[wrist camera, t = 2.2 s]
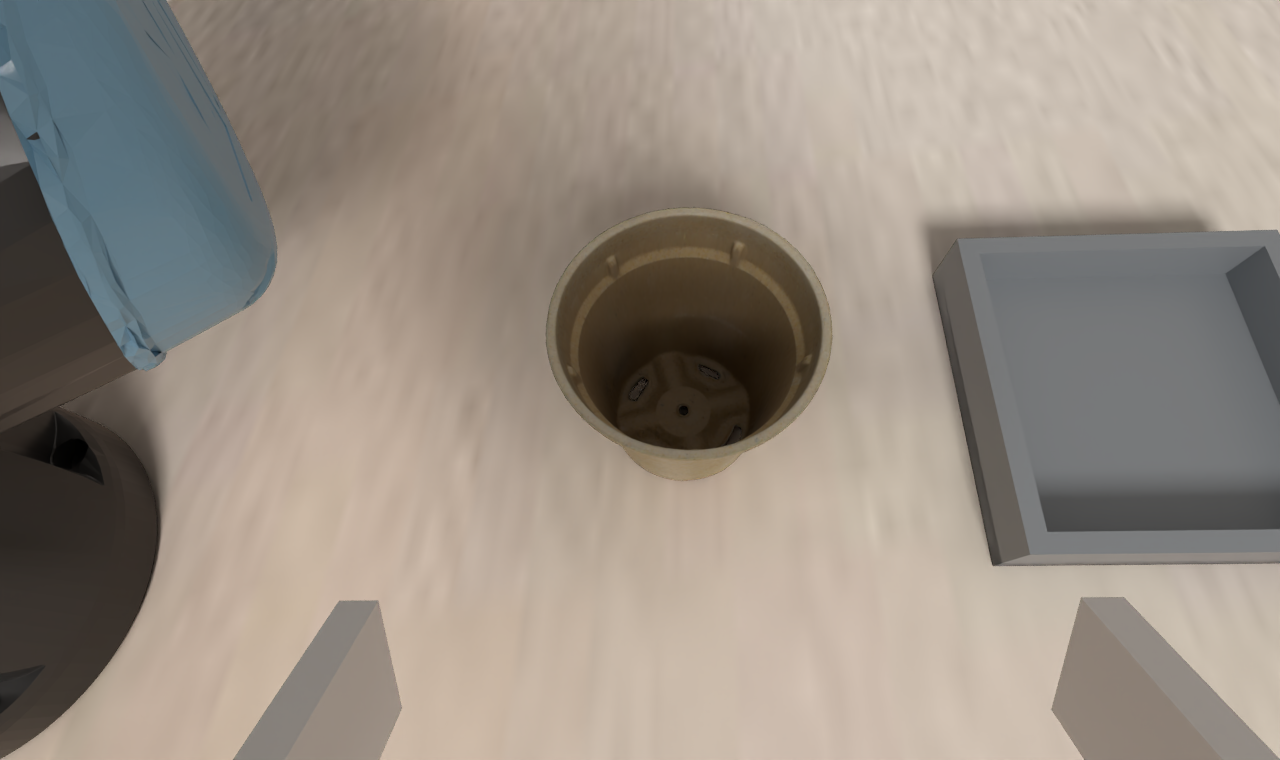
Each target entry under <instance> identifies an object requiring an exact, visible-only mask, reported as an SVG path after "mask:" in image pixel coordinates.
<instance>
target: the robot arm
mask: <svg viewBox="0 0 1280 760" xmlns="http://www.w3.org/2000/svg"><path fill="white" fill-rule="evenodd" d="M276 264H277V242H276V236H275V231H274V227H273V223H272V220H271V217H270V213H269V210H268V207H267V205H266V202H265V200H264V197H263V194H262V192H261V189H260V187H259V185H258V182H257V180H256V177H255V175H254V173H253V171H252V169H251V166H250V164H249V162H248V160H247V158H246V156H245V153H244V151H243V149H242V147H241V145H240V143H239V141H238V138H237V136H236V134H235V132H234V130H233V128H232V126H231V123H230V121H229V119H228V117H227V115H226V113H225V111H224V109H223V107H222V105H221V103H220V101H219V99H218V97H217V95H216V93H215V91H214V89H213V87H212V85H211V83H210V81H209V80H208V78H207V76H206V74H205V72H204V70H203V68H202V66H201V64H200V62H199V60H198V58H197V57H196V55H195V53H194V51H193V49H192V47H191V45H190V43H189V41H188V40H187V38H186V36H185V34H184V32H183V30H182V28H181V27H180V25H179V23H178V21H177V19H176V17H175V16H174V14H173V12H172V10H171V8H170V6H169V4H168V3H167V1H166V0H0V759H1V758H3V757H5V756H6V755H8V754H10V753H11V752H13V751H15V750H16V749H18V748H19V747H21V746H22V745H24V744H25V743H27V742H28V741H30V740H31V739H33V738H34V737H35V736H37V735H38V734H39V733H41V732H42V731H43V730H45V729H46V728H47V727H48V726H49V725H51V724H52V723H53V722H54V721H55V720H56V719H58V718H59V717H60V716H61V715H62V714H63V713H64V712H65V711H66V710H67V709H68V708H70V707H71V706H72V705H73V704H74V703H75V702H76V701H77V699H78V698H79V697H80V696H81V695H82V694H83V693H84V692H85V691H86V690H87V689H88V687H89V686H90V685H91V684H92V683H93V682H94V680H95V679H96V678H97V677H98V675H99V674H100V673H101V671H102V670H103V669H104V667H105V666H106V665H107V664H108V662H109V661H110V659H111V658H112V656H113V655H114V653H115V652H116V650H117V649H118V647H119V645H120V644H121V642H122V640H123V639H124V637H125V635H126V633H127V631H128V630H129V628H130V626H131V624H132V622H133V620H134V618H135V616H136V613H137V611H138V609H139V607H140V604H141V602H142V599H143V596H144V594H145V591H146V588H147V584H148V581H149V578H150V574H151V570H152V566H153V561H154V555H155V548H156V538H157V517H156V507H155V500H154V496H153V491H152V488H151V485H150V482H149V479H148V476H147V474H146V472H145V470H144V468H143V466H142V464H141V462H140V461H139V459H138V458H137V456H136V455H135V453H134V452H133V451H132V450H131V448H130V447H129V446H128V445H127V444H126V443H125V442H124V441H123V440H122V439H121V438H120V437H118V436H117V435H116V434H114V433H113V432H112V431H110V430H109V429H107V428H105V427H104V426H102V425H100V424H98V423H96V422H93V421H91V420H89V419H86V418H84V417H82V416H79V415H77V414H74V413H72V412H69V411H67V410H65V409H62V408H60V407H58V406H60V405H63V404H65V403H67V402H69V401H71V400H73V399H75V398H77V397H79V396H81V395H83V394H86V393H88V392H90V391H92V390H94V389H96V388H98V387H100V386H102V385H104V384H106V383H109V382H111V381H113V380H115V379H117V378H119V377H121V376H123V375H125V374H127V373H129V372H132V371H134V370H136V369H138V370H142V369H144V370H145V371H147V370H150V369H152V368H154V367H156V366H158V365H159V364H160V363H161V362H162V361H163V360H165V358H166V354H167V351H168V350H170V349H172V348H174V347H176V346H178V345H180V344H181V343H183V342H185V341H187V340H189V339H191V338H193V337H194V336H196V335H198V334H200V333H202V332H204V331H205V330H207V329H209V328H211V327H213V326H215V325H217V324H218V323H220V322H222V321H224V320H226V319H228V318H230V317H231V316H233V315H235V314H237V313H239V312H241V311H242V310H244V309H246V308H248V307H249V306H251V305H252V304H253V303H254V302H255V301H256V300H257V299H259V298H260V297H261V296H262V294H263V293H264V292H265V291H266V289H267V288H268V286H269V284H270V283H271V280H272V278H273V276H274V272H275V268H276ZM401 709H402V706H401V701H400V697H399V692H398V688H397V683H396V678H395V674H394V669H393V665H392V660H391V656H390V651H389V647H388V642H387V638H386V633H385V628H384V624H383V619H382V615H381V610H380V606H379V601H339V602H338V603H337V605H336V606H335V608H334V609H333V611H332V612H331V614H330V615H329V617H328V618H327V620H326V621H325V623H324V624H323V626H322V627H321V629H320V630H319V632H318V633H317V635H316V636H315V638H314V639H313V641H312V642H311V644H310V645H309V647H308V648H307V650H306V651H305V653H304V654H303V656H302V657H301V659H300V660H299V662H298V663H297V665H296V666H295V668H294V669H293V671H292V672H291V674H290V675H289V677H288V678H287V680H286V681H285V683H284V684H283V686H282V687H281V689H280V690H279V692H278V693H277V695H276V696H275V698H274V699H273V701H272V702H271V704H270V705H269V707H268V708H267V710H266V711H265V713H264V714H263V716H262V717H261V719H260V720H259V722H258V723H257V725H256V726H255V728H254V729H253V731H252V732H251V734H250V735H249V737H248V738H247V740H246V741H245V743H244V744H243V746H242V747H241V749H240V750H239V752H238V753H237V755H236V756H235V758H234V759H233V760H379V759H380V757H381V755H382V752H383V750H384V748H385V745H386V743H387V741H388V739H389V736H390V734H391V732H392V730H393V727H394V725H395V723H396V720H397V718H398V716H399V714H400V711H401ZM1051 710H1052V711H1053V713H1054V714H1055V716H1056V717H1057V719H1058V720H1059V722H1060V723H1061V725H1062V726H1063V728H1064V729H1065V731H1066V732H1067V734H1068V736H1069V737H1070V739H1071V740H1072V742H1073V743H1074V745H1075V746H1076V748H1077V749H1078V751H1079V752H1080V754H1081V755H1082V757H1083V758H1084V760H1280V759H1279V758H1278V757H1277V756H1276V755H1275V754H1274V753H1273V752H1272V751H1271V750H1270V749H1269V747H1268V746H1267V745H1266V744H1265V743H1264V742H1263V741H1262V740H1261V739H1260V738H1259V737H1258V736H1257V735H1256V734H1255V733H1254V732H1253V731H1252V730H1251V729H1250V728H1249V727H1248V726H1247V725H1246V724H1245V723H1244V722H1243V720H1242V719H1241V718H1240V717H1239V716H1238V715H1237V714H1236V713H1235V712H1234V711H1233V710H1232V709H1231V708H1230V707H1229V706H1228V705H1227V704H1226V703H1225V702H1224V701H1223V700H1222V699H1221V698H1220V697H1219V696H1218V694H1217V693H1216V692H1215V691H1214V690H1213V689H1212V688H1211V687H1210V686H1209V685H1208V684H1207V683H1206V682H1205V681H1204V680H1203V679H1202V678H1201V677H1200V676H1199V675H1198V674H1197V673H1196V672H1195V671H1194V670H1193V669H1192V667H1191V666H1190V665H1189V664H1188V663H1187V662H1186V661H1185V660H1184V659H1183V658H1182V657H1181V656H1180V655H1179V654H1178V653H1177V652H1176V651H1175V650H1174V649H1173V648H1172V647H1171V646H1170V645H1169V644H1168V643H1167V642H1166V640H1165V639H1164V638H1163V637H1162V636H1161V635H1160V634H1159V633H1158V632H1157V631H1156V630H1155V629H1154V628H1153V627H1152V626H1151V625H1150V624H1149V623H1148V622H1147V621H1146V620H1145V619H1144V618H1143V617H1142V616H1141V614H1140V613H1139V612H1138V611H1137V610H1136V609H1135V608H1134V607H1133V606H1132V605H1131V604H1130V603H1129V602H1128V601H1127V600H1126V599H1125V598H1124V597H1091V598H1081V600H1080V604H1079V607H1078V611H1077V615H1076V619H1075V622H1074V626H1073V630H1072V634H1071V637H1070V641H1069V645H1068V649H1067V653H1066V656H1065V660H1064V664H1063V668H1062V671H1061V675H1060V679H1059V683H1058V686H1057V690H1056V694H1055V698H1054V701H1053V705H1052V709H1051Z"/></svg>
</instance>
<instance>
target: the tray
mask: <svg viewBox="0 0 1280 760" xmlns="http://www.w3.org/2000/svg"><path fill="white" fill-rule="evenodd" d="M933 280H934V285H935V289H936V294H937V299H938V304H939V309H940V314H941V318H942V323H943V328H944V333H945V338H946V342H947V347H948V352H949V357H950V362H951V366H952V371H953V376H954V381H955V386H956V391H957V395H958V400H959V405H960V410H961V415H962V419H963V424H964V429H965V434H966V439H967V443H968V448H969V453H970V458H971V463H972V467H973V472H974V477H975V482H976V487H977V492H978V496H979V501H980V506H981V511H982V516H983V520H984V525H985V530H986V535H987V540H988V544H989V549H990V554H991V559H992V564H993V566H1043V565H1151V564H1259V563H1280V235H1279V233H1278V230H1252V231H1216V232H1181V233H1145V234H1110V235H1074V236H1038V237H1003V238H967V239H957V240H956V241H955V243H954V244H953V246H952V247H951V249H950V250H949V252H948V253H947V255H946V256H945V258H944V259H943V261H942V262H941V264H940V265H939V267H938V268H937V270H936V271H935V273H934V274H933Z"/></svg>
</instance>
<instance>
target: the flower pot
mask: <svg viewBox="0 0 1280 760" xmlns="http://www.w3.org/2000/svg"><path fill="white" fill-rule="evenodd" d="M831 345H832V321H831V315H830V308H829V304H828V301H827V299H826V295H825V293H824V290H823V288H822V285H821V283H820V281H819V280H818V278H817V276H816V274H815V272H814V271H813V269H812V268H811V266H810V264H809V263H808V262H807V261H806V260H805V259H804V257H803V256H802V255H801V254H800V253H799V252H798V250H797V249H796V248H794V247H793V246H792V245H791V244H790V243H789V242H788V241H786V240H785V239H784V238H782V237H781V236H779V235H778V234H777V233H775V232H773V231H772V230H770V229H769V228H768V227H766V226H764V225H762V224H759V223H757V222H756V221H753V220H752V219H748V218H746V217H741V216H739V215H735V214H731V213H729V212H724V211H719V210H714V209H707V208H696V207H693V208H687V207H683V208H672V209H670V208H668V209H665V210H658V211H653V212H648V213H645V214H642V215H639V216H636V217H634V218H630V219H628V220H626V221H624V222H621V223H619V224H617V225H615V226H614V227H612V228H610V229H608V230H606V231H604V232H603V233H602V234H600V235H599V236H597V237H595V239H594V240H593V241H591V242H590V243H589V244H588V245H587V246H585V247H584V248H583V249H582V250H581V251H580V252H579V253H578V254H577V255H576V257H575V258H574V259H573V260H572V261H571V263H570V264H569V265H568V267H567V268H566V270H565V271H564V273H563V275H562V276H561V278H560V280H559V282H558V284H557V286H556V288H555V291H554V293H553V296H552V298H551V302H550V306H549V312H548V318H547V324H546V347H547V352H548V357H549V361H550V365H551V368H552V371H553V374H554V377H555V379H556V381H557V383H558V385H559V387H560V389H561V391H562V392H563V394H564V396H565V398H566V399H567V400H568V401H569V403H570V404H571V405H572V407H573V408H574V409H575V410H576V412H577V413H578V414H579V415H580V416H581V417H582V418H583V419H584V420H585V421H586V422H587V423H588V424H589V425H591V426H592V427H593V428H594V429H595V430H597V431H598V432H599V433H601V434H602V435H603V436H605V437H606V438H608V439H610V440H611V441H613V442H615V443H617V444H619V445H621V446H622V447H623V448H624V450H625V451H626V453H627V454H628V455H629V456H630V457H631V458H632V459H633V460H634V461H635V462H636V463H637V464H638V465H639V466H641V467H642V468H644V469H645V470H647V471H649V472H651V473H652V474H655V475H657V476H660V477H663V478H667V479H671V480H678V481H687V480H696V479H701V478H705V477H708V476H711V475H714V474H716V473H718V472H721V471H723V470H724V469H726V468H727V467H728V466H730V465H731V464H732V463H733V462H734V461H735V460H736V459H737V458H738V457H739V456H740V455H741V454H742V453H743V452H746V451H748V450H750V449H753V448H755V447H757V446H759V445H761V444H763V443H765V442H766V441H768V440H770V439H772V438H773V437H775V436H776V435H778V434H779V433H780V432H782V431H783V430H784V429H785V428H787V427H788V426H789V425H790V424H791V423H792V422H793V421H794V420H795V419H796V418H797V417H798V416H799V415H800V414H801V413H802V412H803V411H804V409H805V408H806V407H807V406H808V404H809V403H810V401H811V400H812V399H813V397H814V395H815V393H816V392H817V390H818V388H819V386H820V384H821V382H822V379H823V377H824V375H825V372H826V369H827V365H828V362H829V358H830V353H831ZM699 365H702V366H705V367H707V368H709V369H711V370H714V371H715V372H717V373H718V375H719V379H715V378H713V377H711V376H705V375H706V374H705V373H704V372H702V371H700V370H699ZM642 378H645V379H646V380H648V384H647V386H646V387H645V389H644V390H643V391H642V393H641V394H640V396H639V397H638V400H637V401H634V400H631V399H630V398H629V393H630V391H631V389H632V388H633V387H634V386H635V385H637V383H638V381H639V380H640V379H642ZM681 406H686V407H687V409H688V414H686V415H681V414H680V412H679V408H680V407H681ZM735 426H738V427H740V428H741V430H742V431H741V437H740V440H739V441H738V442H736V443H733V444H730V445H726V446H724V445H725V444H726V442H727V441H728V439H729V437H730V435H731V433H732V431H733V429H734V427H735Z"/></svg>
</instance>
